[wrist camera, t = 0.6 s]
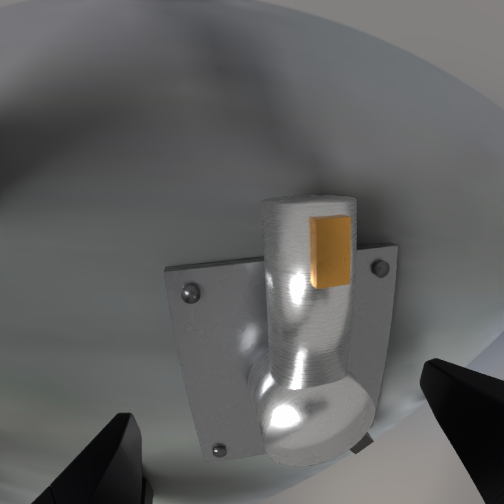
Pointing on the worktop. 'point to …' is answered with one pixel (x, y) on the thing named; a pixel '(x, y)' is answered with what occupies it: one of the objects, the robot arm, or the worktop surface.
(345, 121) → the worktop surface
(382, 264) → the flange
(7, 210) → the worktop surface
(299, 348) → the collar
